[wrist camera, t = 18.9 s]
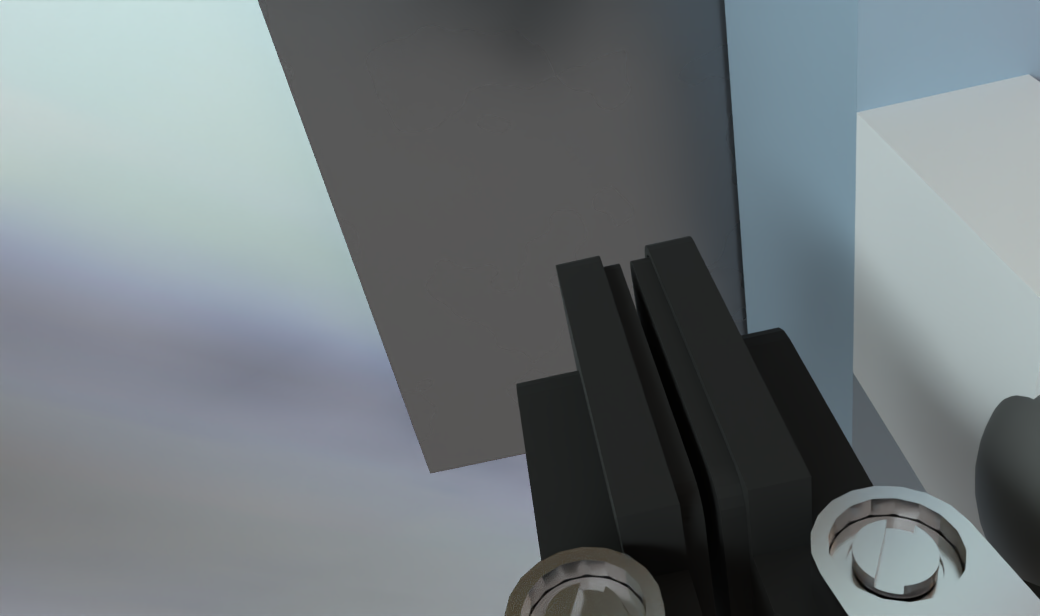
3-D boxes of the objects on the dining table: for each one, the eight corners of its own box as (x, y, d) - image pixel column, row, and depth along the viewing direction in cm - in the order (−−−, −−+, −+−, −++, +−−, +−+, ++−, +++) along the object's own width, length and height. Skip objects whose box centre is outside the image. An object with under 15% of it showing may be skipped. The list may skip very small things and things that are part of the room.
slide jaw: (729, 383, 21) (999, 1012, 11) (661, -381, 13) (1451, -552, 3) (861, 355, 20) (1253, 966, 11) (878, -434, 12) (2448, -794, 3)
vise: (430, 444, 22) (432, 708, 17) (150, -341, 13) (-55, -353, 8) (1255, 269, 22) (1557, 485, 16) (1565, -697, 12) (2537, -1009, 7)
